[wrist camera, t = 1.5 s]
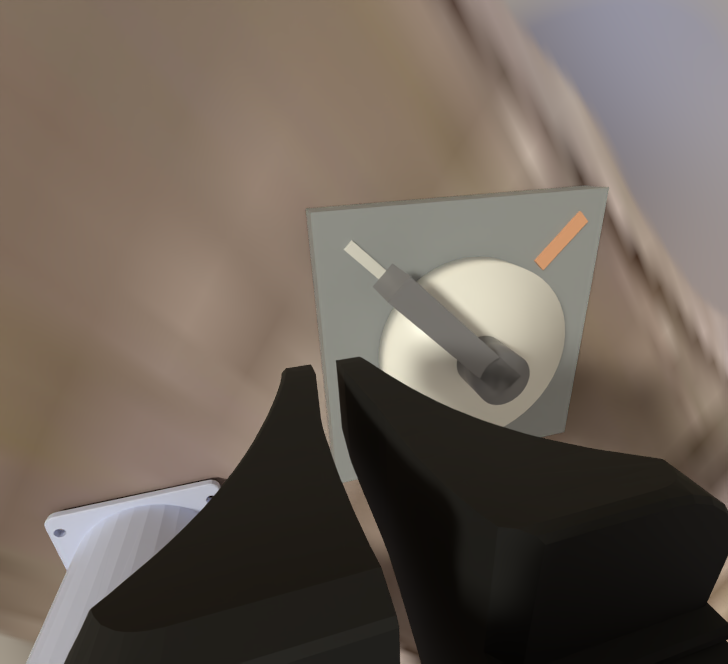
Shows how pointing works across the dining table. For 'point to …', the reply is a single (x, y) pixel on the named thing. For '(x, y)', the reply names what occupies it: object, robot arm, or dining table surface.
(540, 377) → the dial
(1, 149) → the dining table surface
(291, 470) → the robot arm
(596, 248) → the dial plate
